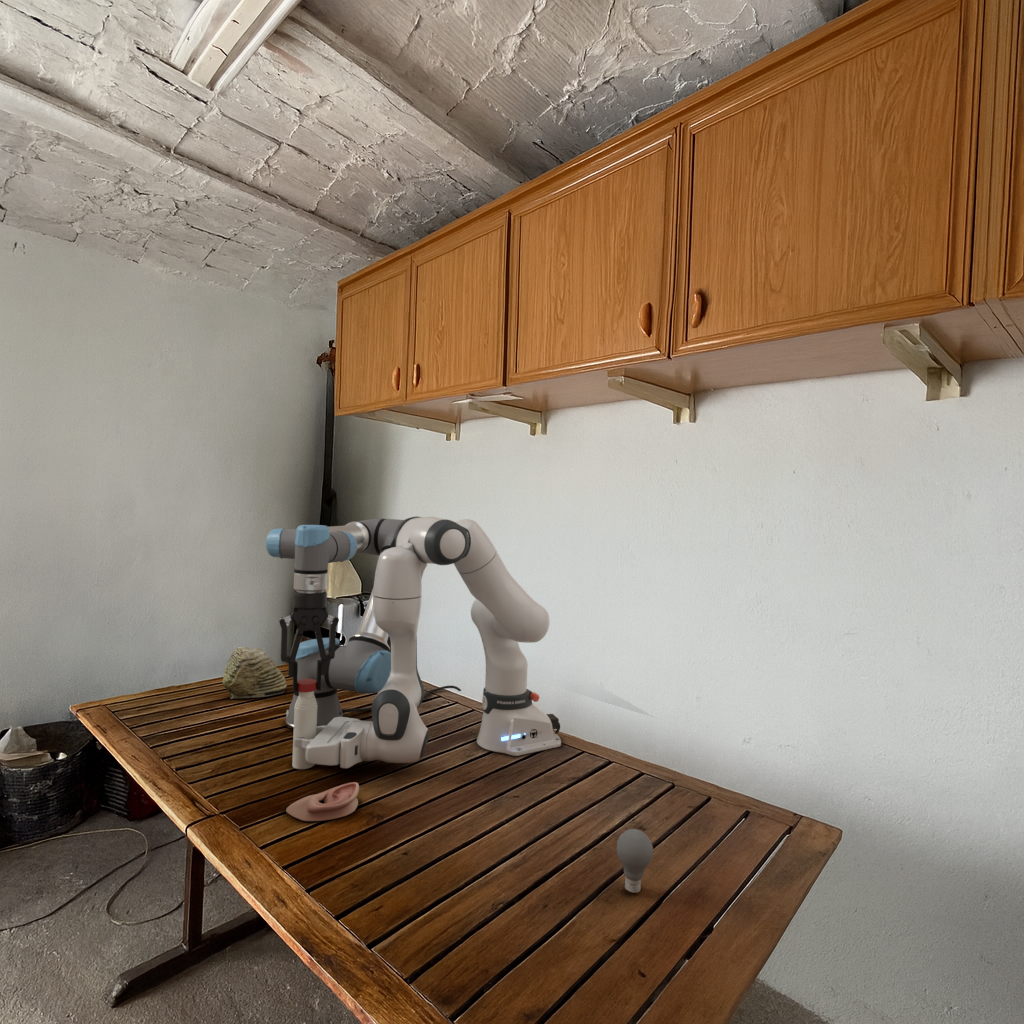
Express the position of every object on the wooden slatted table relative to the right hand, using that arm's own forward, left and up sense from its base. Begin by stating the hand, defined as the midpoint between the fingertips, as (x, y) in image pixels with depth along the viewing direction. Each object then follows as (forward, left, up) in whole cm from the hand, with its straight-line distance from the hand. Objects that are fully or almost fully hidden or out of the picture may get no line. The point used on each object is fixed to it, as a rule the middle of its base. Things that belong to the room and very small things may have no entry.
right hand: (301, 736), depth 149 cm
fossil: (+10, -57, -7) cm, 58 cm away
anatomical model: (-3, +23, -7) cm, 25 cm away
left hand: (-1, 0, +11) cm, 11 cm away
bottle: (-1, 0, -7) cm, 7 cm away
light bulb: (-49, +67, -7) cm, 83 cm away
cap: (-1, 0, +13) cm, 13 cm away
